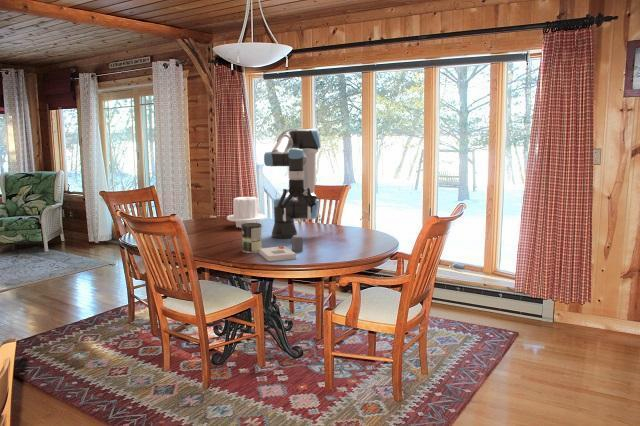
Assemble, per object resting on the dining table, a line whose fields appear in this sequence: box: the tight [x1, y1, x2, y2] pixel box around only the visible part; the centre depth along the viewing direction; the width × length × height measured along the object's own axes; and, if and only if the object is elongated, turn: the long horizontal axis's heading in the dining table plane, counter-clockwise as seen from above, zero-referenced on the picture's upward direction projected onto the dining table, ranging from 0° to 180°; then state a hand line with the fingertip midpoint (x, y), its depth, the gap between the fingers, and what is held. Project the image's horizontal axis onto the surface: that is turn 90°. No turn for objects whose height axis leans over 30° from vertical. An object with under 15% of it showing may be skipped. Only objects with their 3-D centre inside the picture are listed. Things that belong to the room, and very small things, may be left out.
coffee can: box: [241, 222, 263, 254], centre depth 273 cm, size 10×10×14 cm
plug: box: [291, 234, 304, 253], centre depth 273 cm, size 4×4×8 cm
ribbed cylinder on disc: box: [226, 196, 266, 229], centre depth 341 cm, size 25×25×19 cm
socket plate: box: [258, 245, 297, 262], centre depth 262 cm, size 18×14×3 cm
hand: (296, 219), depth 271 cm, fingers open, 13 cm apart
